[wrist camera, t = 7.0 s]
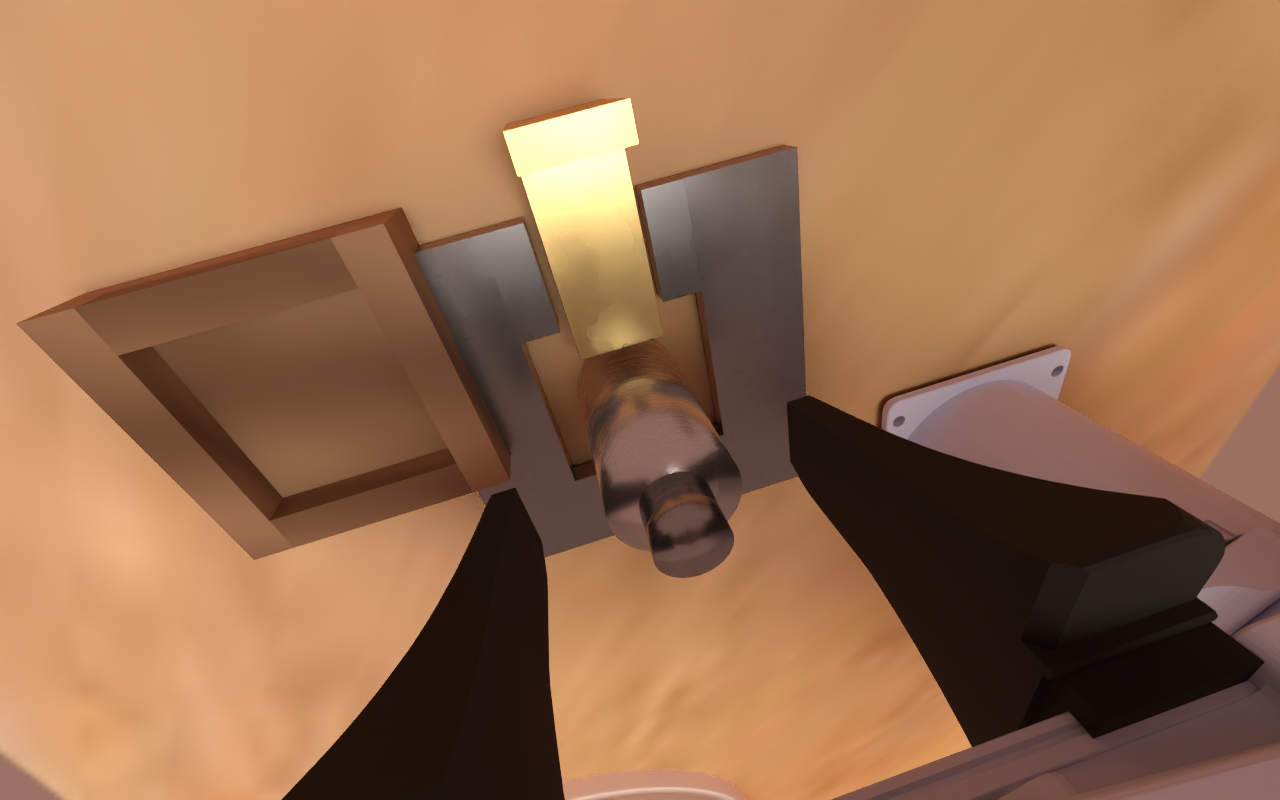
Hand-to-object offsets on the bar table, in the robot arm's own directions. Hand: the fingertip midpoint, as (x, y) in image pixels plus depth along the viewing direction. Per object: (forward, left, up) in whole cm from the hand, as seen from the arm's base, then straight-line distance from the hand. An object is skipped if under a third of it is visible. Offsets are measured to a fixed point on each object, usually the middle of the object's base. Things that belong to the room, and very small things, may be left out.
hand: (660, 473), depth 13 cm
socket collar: (0, 0, -5) cm, 5 cm away
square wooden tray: (+3, +8, -5) cm, 10 cm away
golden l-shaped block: (+5, 0, -5) cm, 7 cm away
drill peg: (0, 0, -5) cm, 5 cm away
